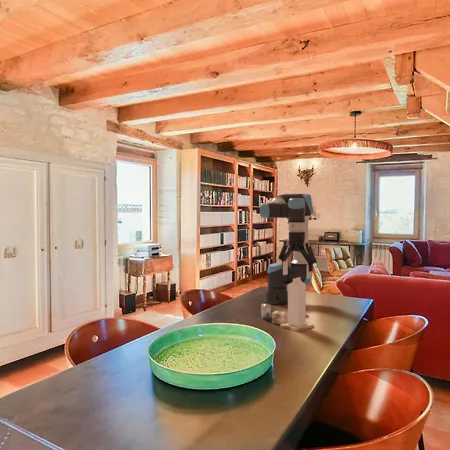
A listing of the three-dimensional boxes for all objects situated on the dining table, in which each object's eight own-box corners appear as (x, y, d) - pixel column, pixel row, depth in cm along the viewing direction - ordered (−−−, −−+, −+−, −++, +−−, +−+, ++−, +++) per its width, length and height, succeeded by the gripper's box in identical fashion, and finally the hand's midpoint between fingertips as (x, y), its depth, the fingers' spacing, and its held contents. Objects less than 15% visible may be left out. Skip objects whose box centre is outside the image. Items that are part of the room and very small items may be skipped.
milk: (305, 324, 175) (306, 277, 174) (298, 327, 171) (298, 279, 170) (295, 321, 179) (295, 276, 179) (287, 324, 175) (287, 277, 174)
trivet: (280, 326, 175) (280, 324, 175) (294, 321, 183) (294, 319, 183) (299, 332, 167) (299, 329, 167) (313, 326, 175) (313, 324, 175)
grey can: (259, 318, 190) (259, 304, 190) (265, 316, 193) (265, 302, 193) (266, 320, 186) (266, 306, 186) (273, 318, 190) (273, 304, 189)
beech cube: (271, 323, 182) (271, 312, 182) (276, 320, 186) (276, 310, 186) (281, 324, 179) (281, 314, 179) (285, 322, 183) (285, 311, 183)
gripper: (270, 230, 180) (271, 274, 181) (315, 233, 162) (315, 281, 163) (280, 229, 185) (281, 272, 186) (324, 232, 167) (324, 278, 168)
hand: (296, 276), depth 175 cm, fingers open, 13 cm apart
